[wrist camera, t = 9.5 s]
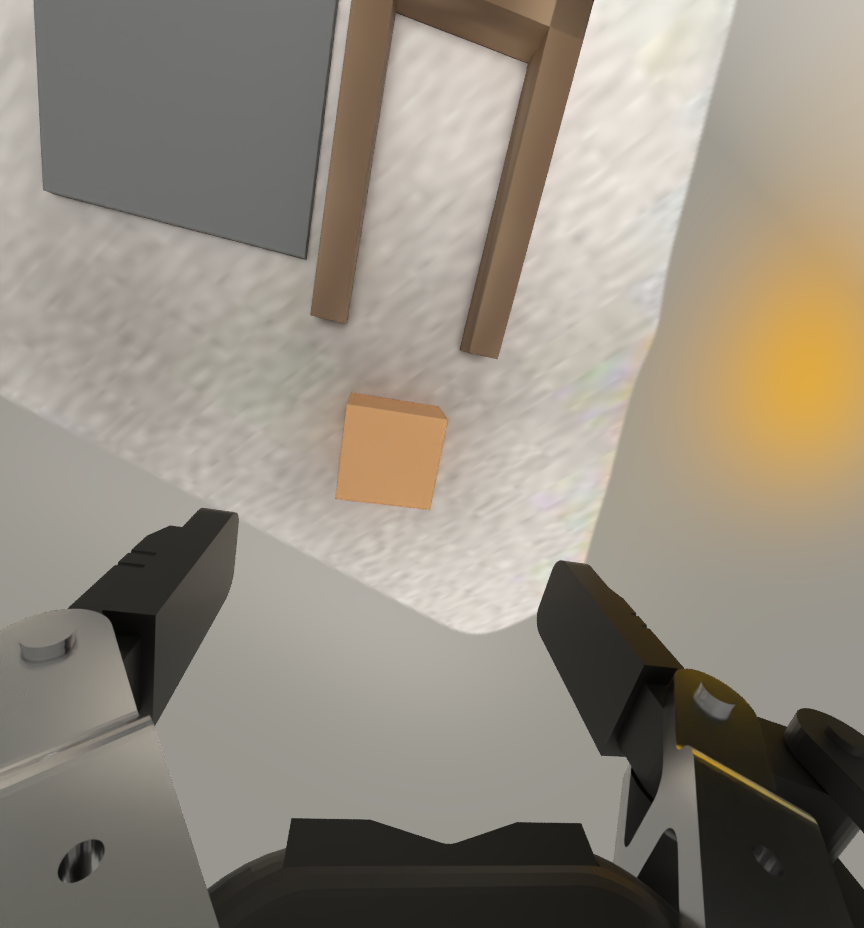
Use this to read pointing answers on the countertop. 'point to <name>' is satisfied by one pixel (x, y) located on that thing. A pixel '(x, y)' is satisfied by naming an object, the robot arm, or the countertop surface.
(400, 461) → the block
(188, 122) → the mat
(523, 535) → the countertop surface
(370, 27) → the cubby
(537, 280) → the countertop surface
